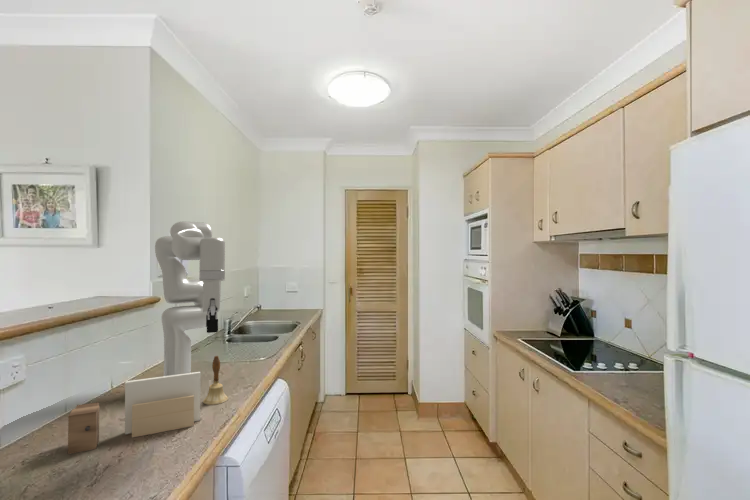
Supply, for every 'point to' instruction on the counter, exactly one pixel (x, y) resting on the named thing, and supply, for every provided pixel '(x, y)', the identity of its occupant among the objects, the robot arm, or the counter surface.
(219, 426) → the counter surface
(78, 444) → the wall box
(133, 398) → the wall board
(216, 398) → the hand bell
